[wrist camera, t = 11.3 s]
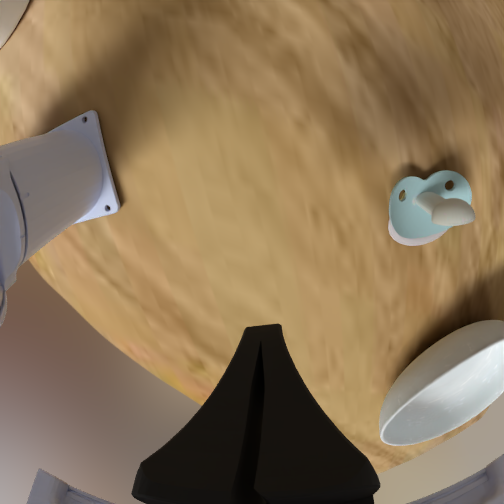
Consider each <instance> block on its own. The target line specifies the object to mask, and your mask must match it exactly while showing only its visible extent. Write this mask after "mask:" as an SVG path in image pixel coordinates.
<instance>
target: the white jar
mask: <svg viewBox="0 0 504 504" xmlns="http://www.w3.org/2000/svg"><path fill="white" fill-rule="evenodd" d="M28 3H29V0H0V48H1V47H2V46H3V45H4V44H5V42H6V41H7V39H8V38H9V36H10V35H11V33H12V32H13V30H14V29H15V28H16V26H17V24H18V22H19V20H20V18H21V17H22V15H23V13H24V11H25V10H26V7H27V5H28Z"/></svg>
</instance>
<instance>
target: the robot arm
mask: <svg viewBox="0 0 504 504" xmlns="http://www.w3.org/2000/svg"><path fill="white" fill-rule="evenodd" d="M85 117H87V122H85ZM107 205H108V206H110V210H109V209H108V208H107ZM119 209H120V202H119V199H118V196H117V192H116V189H115V185H114V182H113V178H112V174H111V171H110V167H109V163H108V159H107V155H106V151H105V147H104V143H103V138H102V134H101V129H100V124H99V119H98V114H97V112H96V111H94V110H91V111H88V112H86V113H83V114H81V115H79V116H77V117H75V118H73V119H71V120H69V121H68V122H66V123H64V124H62V125H60V126H58V127H56V128H55V129H53V130H51V131H49V132H48V133H46V134H42V135H38V136H34V137H30V138H26V139H22V140H19V141H15V142H12V143H8V144H5V145H2V146H0V326H1V325H2V323H3V320H4V318H5V315H6V311H7V297H6V293H5V291H6V290H7V289H8V288H9V287H11V286H12V285H13V284H14V283H15V282H16V271H17V269H18V267H19V266H21V265H22V264H23V263H24V262H25V261H27V260H28V259H29V258H30V257H31V256H32V255H34V254H35V253H36V252H37V251H38V250H40V249H41V248H42V247H43V246H45V245H46V244H47V243H48V242H50V241H51V240H52V239H54V238H55V237H56V236H57V235H59V234H60V233H61V232H63V231H64V230H65V229H67V228H68V227H69V226H71V225H72V224H75V223H79V222H82V221H86V220H90V219H94V218H97V217H101V216H105V215H109V214H113V213H116V212H118V211H119ZM379 488H380V482H379V479H378V476H377V474H376V472H375V470H374V468H373V466H372V465H371V463H370V461H369V460H368V458H367V457H366V456H365V455H364V454H363V453H362V452H360V451H359V450H358V449H357V448H356V447H355V446H354V445H353V444H352V443H351V442H350V441H349V440H348V439H347V438H346V437H345V436H344V435H343V434H342V433H341V432H340V431H339V429H338V428H337V427H336V426H335V425H334V423H333V422H332V421H331V420H330V419H329V417H328V416H327V415H326V414H325V413H324V411H323V410H322V409H321V407H320V406H319V405H318V403H317V402H316V400H315V399H314V397H313V396H312V394H311V393H310V391H309V390H308V388H307V387H306V385H305V383H304V382H303V380H302V378H301V376H300V374H299V373H298V371H297V369H296V367H295V365H294V363H293V360H292V358H291V356H290V354H289V352H288V349H287V346H286V344H285V341H284V337H283V333H282V326H281V325H280V324H271V325H262V326H252V327H247V328H246V329H245V330H244V333H243V336H242V338H241V341H240V343H239V345H238V348H237V350H236V352H235V354H234V356H233V358H232V360H231V362H230V364H229V366H228V368H227V369H226V371H225V373H224V375H223V376H222V378H221V379H220V381H219V383H218V384H217V386H216V388H215V389H214V391H213V392H212V393H211V395H210V396H209V398H208V399H207V400H206V402H205V403H204V404H203V406H202V407H201V408H200V409H199V411H198V412H197V413H196V414H195V415H194V416H193V418H192V419H191V420H190V421H189V422H188V423H187V424H186V425H185V426H184V428H182V429H181V430H180V431H179V432H178V433H177V434H176V435H175V436H174V437H173V438H172V439H171V440H170V441H168V442H167V443H166V444H165V445H164V446H163V447H161V448H160V449H159V450H158V451H156V452H155V453H153V454H152V455H151V456H149V457H148V458H147V459H146V460H144V461H143V462H141V464H140V467H139V469H138V471H137V474H136V478H135V482H134V486H133V490H132V495H133V497H134V498H136V499H137V500H139V501H141V502H144V503H146V504H374V499H373V494H374V493H375V492H377V490H378V489H379ZM27 504H114V503H112V502H109V501H106V500H103V499H101V498H98V497H96V496H93V495H91V494H88V493H86V492H83V491H81V490H79V489H77V488H74V487H72V486H70V485H68V484H67V483H66V482H64V481H62V480H60V479H59V478H57V477H55V476H53V475H51V474H49V473H48V472H46V471H44V470H42V469H39V470H38V472H37V475H36V478H35V481H34V484H33V486H32V489H31V492H30V495H29V498H28V501H27ZM407 504H504V454H503V455H502V456H500V457H498V458H497V459H496V460H494V461H493V462H491V463H490V464H489V465H487V467H486V468H484V469H482V470H480V471H479V472H477V473H475V474H473V475H472V476H470V477H468V478H466V479H464V480H462V481H460V482H458V483H456V484H454V485H452V486H450V487H447V488H445V489H443V490H441V491H438V492H436V493H434V494H431V495H429V496H426V497H424V498H421V499H419V500H416V501H413V502H410V503H407Z"/></svg>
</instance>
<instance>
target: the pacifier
mask: <svg viewBox="0 0 504 504" xmlns="http://www.w3.org/2000/svg"><path fill="white" fill-rule="evenodd" d="M449 180H452V181H453V183H454V186H453V188H452V189H450V190H446V188H445V184H446V182H447V181H449ZM402 190H405V193H404V194H403V196H402V198H401V200H399V194H400V192H401V191H402ZM471 200H472V193H471V188H470V186H469V184H468V182H467V180H466V179H465V178H464V177H463V176H462V175H460V174H459V173H457V172H454V171H449V170H442V171H438V172H435V173H433V174H432V175H430V176H429V177H428V178H427V179H425V180H422V179H420V178H418V177H414V176H407V177H404V178H402V179H401V180H399V181H398V182H397V183H396V185H395V186H394V188H393V190H392V193H391V196H390V201H389V216H390V219H389V225H388V229H389V233H390V235H391V237H392V238H393V239H394V240H395V241H397V242H398V243H400V244H404V245H408V246H417V245H423V244H426V243H429V242H432V241H434V240H435V239H437V238H439V237H440V236H441V235H443V234H444V233H445V232H446V231H447V230H448V228H450V227H452V226H457V225H464V224H467V223H470V222H472V221H474V220H475V213H474V210H473V209H472V207H471V206H470V204H471Z"/></svg>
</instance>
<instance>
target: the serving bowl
mask: <svg viewBox="0 0 504 504" xmlns="http://www.w3.org/2000/svg"><path fill="white" fill-rule="evenodd" d="M503 392H504V321H501V320H485V321H480V322H476V323H472V324H470V325H467V326H464V327H462V328H460V329H458V330H456V331H454V332H452V333H450V334H449V335H447V336H445V337H444V338H442V339H441V340H439V341H438V342H436V343H435V344H433V345H432V346H431V347H429V348H428V349H427V350H425V351H424V352H423V353H422V354H420V355H419V356H418V357H417V358H416V359H415V360H414V361H413V362H411V364H410V365H409V366H408V367H407V368H406V369H405V370H404V371H403V372H402V373H401V374H400V375H399V377H398V378H397V379H396V381H395V382H394V383H393V385H392V386H391V388H390V390H389V391H388V393H387V395H386V397H385V399H384V402H383V405H382V408H381V412H380V421H379V428H380V438H381V440H382V441H383V442H384V443H386V444H389V445H396V446H402V445H411V444H416V443H420V442H424V441H427V440H430V439H433V438H436V437H438V436H440V435H443V434H445V433H447V432H449V431H451V430H453V429H455V428H457V427H459V426H461V425H462V424H464V423H466V422H467V421H469V420H470V419H472V418H473V417H475V416H476V415H478V414H479V413H480V412H482V411H483V410H484V409H485V408H486V407H488V406H489V405H490V404H491V403H492V402H493V401H495V400H496V399H497V398H498V397H499V396H500V395H501V394H502V393H503Z"/></svg>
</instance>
